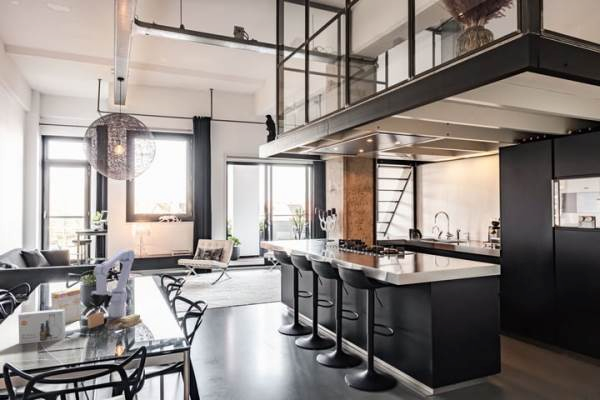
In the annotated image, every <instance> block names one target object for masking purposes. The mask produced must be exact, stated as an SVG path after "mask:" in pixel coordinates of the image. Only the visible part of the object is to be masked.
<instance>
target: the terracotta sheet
mask: <svg viewBox="0 0 600 400" xmlns="http://www.w3.org/2000/svg"><path fill="white" fill-rule="evenodd" d="M104 323H105V315H104V311H99V312H97V313H94V314H90V315H87V328H88V329H92V328H95V327H98V326H101V325H103V324H104ZM104 325H105V324H104Z"/></svg>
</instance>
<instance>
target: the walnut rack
mask: <svg viewBox="0 0 600 400" xmlns="http://www.w3.org/2000/svg"><path fill="white" fill-rule="evenodd" d="M120 318H121V317H118V318H117V319H114V320H111V321H109V322H107V323H106V324H105V326H106V327H107V326H109V327H121V328H124V327H123V326H119V323H121V321H120ZM142 323H143V321H142V322H140V323H137V324H135V325H132V326H130V327H129V328H131V327H133V326H137V325H139V324H142Z"/></svg>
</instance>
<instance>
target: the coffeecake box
mask: <svg viewBox="0 0 600 400" xmlns="http://www.w3.org/2000/svg"><path fill="white" fill-rule="evenodd" d="M50 294H51V295H50V296H51V310H58V309H65V325H66V324H69V323H73V322H77V321H80V320H82V309H81V308H82V307H81V306H82V304H81V289H79V288H72V289H70V288H69V289H65V290H60V291H56V292H55V291H54V292H52V293H50Z"/></svg>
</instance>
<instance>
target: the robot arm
mask: <svg viewBox="0 0 600 400" xmlns="http://www.w3.org/2000/svg"><path fill="white" fill-rule="evenodd" d="M135 257H136V255H135V251H134V250H133V249H119V250H118V251H116V253H115V254H114V255H113V256H112V257H111V258H106V259H105V260H104V261H103V262H101V263H100V264H97V265H96V266H95V267H94V269H93V274H94V277H95V278H96V279H95V283H96V284H95V285H96V290H93V291H91V292H90V293H91V297H90V298H91V299H92V301H93V304H94V306H95V307H96V308H98V307H99V306H100V298H101V296H102V298H103V302H104V308H106V309H108V311H107V312H108V313H107V315H108V317H112V318H122V317H123V316H124V317H125V303H126V302H127V299H128V291H127V290H126V286H127V284H128V280H129V279H128V278H129V276H130V272H131V270H132V265H133V263H134V260H135ZM117 262H119V263H120V264H122V268H121V271H120V274H119V276H118V277H119V278H118V281H117V284H116V286H115V288H113V289H112V291H107V284H108V283H107V274H108V273H109V271H110V270H111V269H112V268H113V267H115V264H116V263H117Z"/></svg>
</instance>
